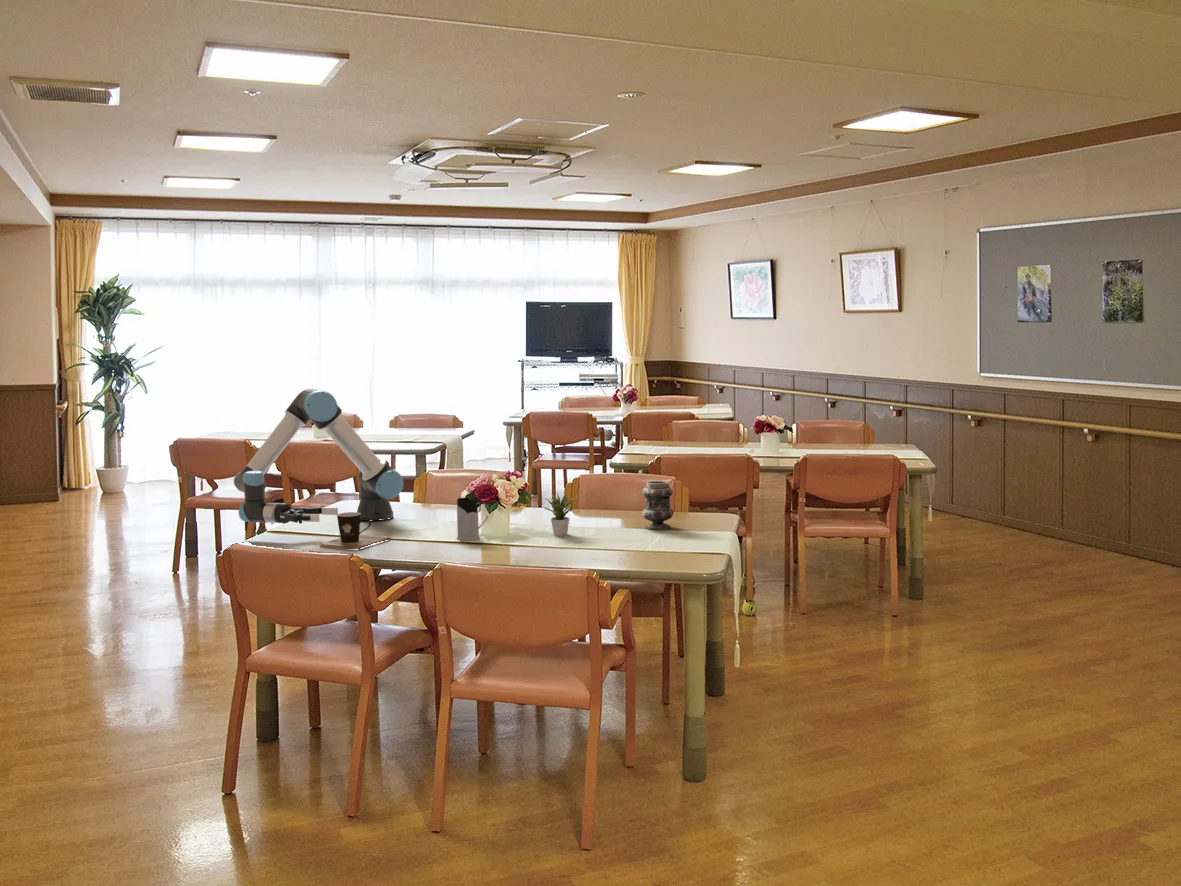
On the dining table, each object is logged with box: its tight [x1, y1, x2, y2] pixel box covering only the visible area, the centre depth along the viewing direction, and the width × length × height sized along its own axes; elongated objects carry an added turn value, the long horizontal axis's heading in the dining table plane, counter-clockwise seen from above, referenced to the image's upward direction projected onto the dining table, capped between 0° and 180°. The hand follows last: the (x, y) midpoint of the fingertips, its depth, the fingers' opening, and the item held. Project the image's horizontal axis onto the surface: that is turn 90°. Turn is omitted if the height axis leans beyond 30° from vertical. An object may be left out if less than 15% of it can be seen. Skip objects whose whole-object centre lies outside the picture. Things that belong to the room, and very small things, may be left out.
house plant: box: [544, 492, 578, 537], centre depth 418 cm, size 14×14×16 cm
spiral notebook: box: [319, 533, 392, 550], centre depth 410 cm, size 20×17×1 cm
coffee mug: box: [336, 511, 372, 543], centre depth 408 cm, size 12×9×10 cm
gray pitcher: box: [456, 497, 489, 542], centre depth 417 cm, size 9×14×15 cm, turn 127°
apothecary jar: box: [641, 480, 674, 531], centre depth 429 cm, size 12×12×18 cm
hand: (328, 514), depth 413 cm, fingers open, 13 cm apart
